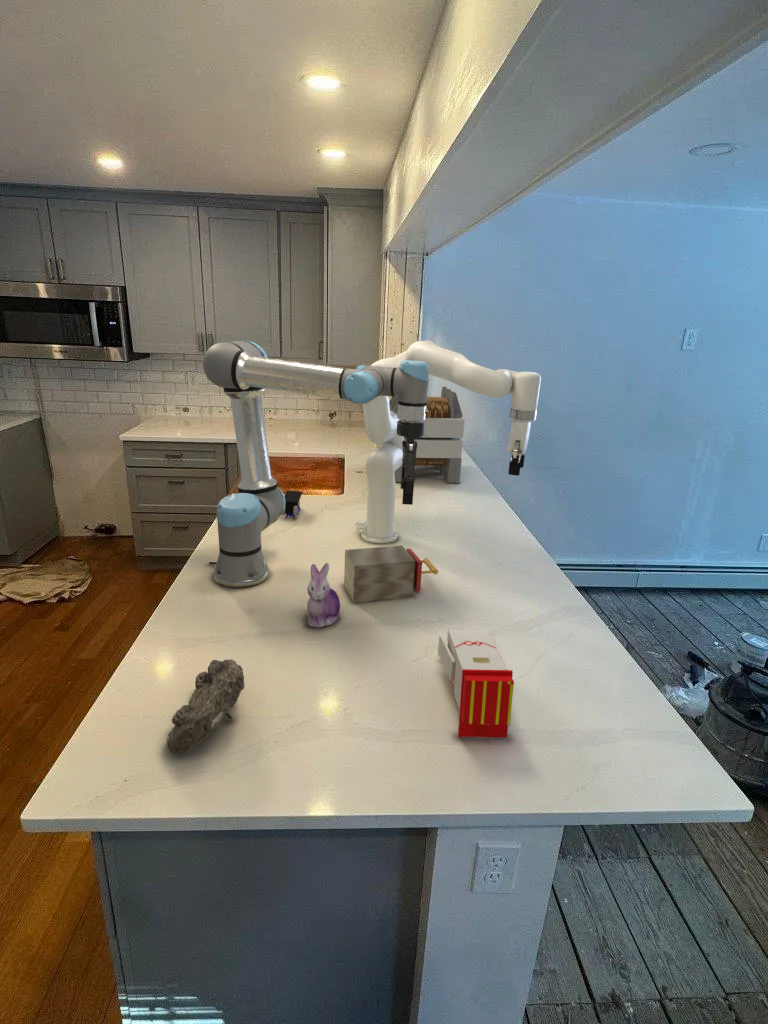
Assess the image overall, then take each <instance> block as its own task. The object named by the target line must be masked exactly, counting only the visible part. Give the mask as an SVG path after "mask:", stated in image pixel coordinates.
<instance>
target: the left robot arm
mask: <svg viewBox="0 0 768 1024" xmlns="http://www.w3.org/2000/svg"><path fill="white" fill-rule="evenodd" d="M202 360H203V361H202V368H203V372H204V374H205V377H206V378H207V379H208V380H209V381H210V382H211V383H212V384H213V385H215V386H217V387H219V388H222V390H223V393H224V394H225V395H227V397H228V398H229V399H230V405H231V412H232V420H233V426H234V434H235V439H236V446H237V447H236V448H237V454H238V460H239V467H240V475H241V480H240V482H239V483H238V484H237V491H238V492H237V493H234V494H229V495H226V496H225V497H223V498H221V500H219V502H218V503H217V506H216V521H217V534H218V537H217V538H218V549H219V550H218V551H219V553H218V556H217V560H216V561H209V562H208V564H209V565H215V566H214V570H213V577H214V578H213V579H214V580H215V582H216V583H217V584H218V585H220V586H223V587H227V588H237V589H239V588H248V587H253V586H256V585H259V584H261V583H263V582H265V581H266V580H267V579H268V578H269V573H270V572H269V571H270V570H269V566H268V563H267V558H266V557H265V556H264V552H263V550H262V533H263V531H265V530H266V529H268V527H270V526H272V524H275V523H276V522H277V521H278V520H279V519H280V518H281V516H283V515H282V513H283V512H284V509H285V504H286V502H285V493H284V492H283V490H282V489H280V487H279V484H278V481H277V479H276V478H274V477H273V476H272V472H271V471H272V470H271V462H270V455H269V447H268V439H267V432H266V431H267V430H266V422H265V416H264V415H265V414H264V408H263V400H262V396H263V394H264V392H265V391H266V390H274V391H280V392H281V391H282V392H288V393H297V394H304V395H311V396H318V397H325V398H333V399H341V400H345V401H349V402H350V403H352V404H355V405H363V404H365V403H368V402H370V401H372V400H373V399H374V398H376V397H378V396H388V397H391V398H392V397H398V400H399V401H398V412H397V418H398V419H399V420H398V422H397V434H398V435H399V436H402V437H404V441H402V447H403V449H402V452H403V459H402V465H403V466H404V467H402V476H401V482H400V490H402V503H401V504H402V505H408V506H409V505H413V503H414V491H415V490H414V487H415V482H416V478H415V477H416V476H415V475H416V466H415V458H416V450H417V441H415V438H416V437H422V436H424V433H425V423H424V422H423V421H424V420H425V416H426V414H425V412H428V409H426V404H427V403H426V402H427V397H428V391H429V382H430V379H429V374H428V372H429V366H428V364H427V363H426V362H423V361H414V360H413V361H412V360H404V361H402V362H401V364H400V367H399V368H391V367H380V366H372V364H368V365H358V366H356V368H346V367H340V366H331V365H325V364H318V363H317V364H316V363H309V362H300V361H294V360H286V359H276V358H269V356H268V355H267V353H266V351H265V350H264V348H262V347H261V346H260V345H259V344H257V343H255V342H253V341H249V340H234V341H226V342H218V343H215V344H213V345H212V346H210V347H209V348H208V349H207V351H206V352H205V354H204V356H203V359H202Z"/></svg>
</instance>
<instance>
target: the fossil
mask: <svg viewBox="0 0 768 1024" xmlns="http://www.w3.org/2000/svg"><path fill="white" fill-rule="evenodd" d="M243 670H244V669H243V667H242V665H240V664H237V662H236V661H235V660H234V659H232V658H231V659H227V658H226V659H224V660H223V661H222V660H217V659H212V660H211V661H210V663H209V665H208V666H207V671H201V672H199V673H198V674H197V675H196V676H195V680H194V684H195V685H194V687H195V689H194V690H193V693H192V694H191V697H190V698H189V700H188V704H184V705H182V706H181V707H180V709H177V710H176V711H175V713H174V715H173V716H172V718H171V723H172V724H173V727H172V730H171V731H170V732H168V734H167V738H166V741H167V742H166V745H167V749H168V750H169V751H173V752H174V753H176V754H178V753H182V752H188V751H189V752H192V751H193V750H195V748H196V747H197V746H199V744H200V743H201V742H203V741H204V740H205V739H206V738H207V737H208V736H209V735H210V734H211V733H212V732H214V730H215V729H217V727H218V726H219V724H220V722H221V721H222V720H223V719H224V718H225V716H226V717H227V719H229V720H233V717H232V715H230V714H229V710H230V709H231V708H234V706H235V704H236V703H237V702H238V699H239V697H240V695H241V693H242V691H243V690H245V689H244V688H245V675H244V671H243Z"/></svg>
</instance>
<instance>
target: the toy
mask: <svg viewBox="0 0 768 1024" xmlns="http://www.w3.org/2000/svg"><path fill="white" fill-rule="evenodd" d="M446 640H447V643H446V641H445V639H444V636H443V635H442V634H439V637H438V646H437V656H438V657H439V659H440V661H441V663H442V666H443V668H444V670H445V672H446V674H447V677H448V679H449V681H450V684H451V687H452V690H453V693H454V697H455V701H456V705H457V708H458V711H459V714H458V715H459V716H458V730H457V731H458V732H457V737H458V738H508V731H509V726H510V725H511V717H512V707H513V697H514V696H513V695H514V684H515V680H514V679H513V673H514V671H513V670H512V669H508V667H507V665H506V662H505V661H504V659H503V658H502V655H501V653H500V651H499V649H498V647H497V643H496V639H495V637H494V635H493V634H491V632H490V631H489V629H467V628H466V629H465V628H463V629H461V628H460V629H459V628H448V630H447V639H446Z"/></svg>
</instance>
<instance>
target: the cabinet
mask: <svg viewBox="0 0 768 1024" xmlns="http://www.w3.org/2000/svg"><path fill="white" fill-rule="evenodd" d="M414 568H415V560H414V559H413V558H412V556H411V555H410V554H409V553H408V552H407V548H405V546H404V545H402V544H401V545H390V546H378V547H364V548H352V549H344V570H343V571H344V574H343V575H344V576H343V577H344V579H343V585H344V587H345V590H346V591H347V594H348V595H349V598H350V599H351V601H352V603H353V604H357V603H365V602H376V601H385V600H393V599H401V598H402V599H403V598H411V597H413V596H414V588H413V583H414Z"/></svg>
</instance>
